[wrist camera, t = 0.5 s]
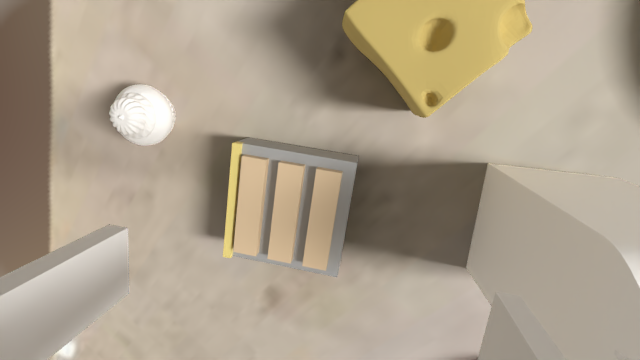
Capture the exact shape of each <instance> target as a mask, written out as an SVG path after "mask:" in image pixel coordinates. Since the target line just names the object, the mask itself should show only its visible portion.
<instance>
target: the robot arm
mask: <svg viewBox="0 0 640 360" xmlns="http://www.w3.org/2000/svg"><path fill="white" fill-rule="evenodd" d="M128 294H129V251H128V228H127V227H121V226H116V225H110V224H109V225H107V226H105V227H103V228H101V229H99V230H96V231H94V232H92V233H90V234H88V235H86V236H84V237H82V238H80V239H78V240H76V241H74V242H72V243H70V244H68V245H66V246H64V247H62V248H59V249H57V250H55V251H53V252H51V253H49V254H47V255H45V256H43V257H41V258H39V259H37V260H35V261H33V262H31V263H29V264H27V265H25V266H22V267H20V268H18V269H16V270H14V271H12V272H10V273H8V274H6V275H4V276H2V277H0V360H47V359H49V358H50V357H51V356H52V355H54V354H55V353H56V352H57V351H59V350H60V349H61V348H62V347H64V346H65V345H66V344H67V343H69V342H70V341H71V340H72V339H73V338H75V337H76V336H77V335H78V334H80V333H81V332H82V331H83V330H85V329H86V328H87V327H88V326H90V325H91V324H92V323H93V322H95V321H96V320H97V319H98V318H99V317H101V316H102V315H103V314H104V313H106V312H107V311H108V310H109V309H111V308H112V307H113V306H114V305H116V304H117V303H118V302H119V301H121V300H122V299H123V298H124V297H125V296H127V295H128ZM478 360H566V358H565V357H564V356H563V354H562V353H561V351H560V350H559V349H558V347H557V346H556V345H555V343H554V342H553V340H552V339H551V338H550V336H549V335H548V334H547V332H546V331H545V329H544V328H543V327H542V325H541V324H540V323H539V321H538V320H537V319H536V317H535V316H534V314H533V313H532V312H531V310H530V309H529V308H528V306H527V305H526V303H525V302H524V301H523V299H522V298H521V297H520V296H518V295H512V294H506V293H501V292H495V296H494V299H493V303H492V307H491V311H490V315H489V318H488V322H487V326H486V330H485V333H484V337H483V341H482V345H481V349H480V352H479V356H478Z"/></svg>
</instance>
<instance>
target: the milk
mask: <svg viewBox="0 0 640 360" xmlns="http://www.w3.org/2000/svg"><path fill="white" fill-rule="evenodd" d="M466 269H467V270H468V272H469V273H470V275H471V276H472V278H473V279H474V281H475V282H476V284H477V285H478V287H479V288H480V290H481V291H482V293H483V294H484V296H485V297H486V299H487V300H488V302H489V303H490V305H491V306H492V303H493V299H494V296H495V292H501V293H506V294H512V295H518V296H520V297H521V298H522V299H523V301H524V302H525V303H526V305H527V306H528V308H529V309H530V310H531V312H532V313H533V314H534V316H535V317H536V319H537V320H538V321H539V323H540V324H541V325H542V327H543V328H544V329H545V331H546V332H547V334H548V335H549V336H550V338H551V339H552V340H553V342H554V343H555V345H556V346H557V347H558V349H559V350H560V351H561V353H562V354H563V356H564V357H565V358H566V360H640V186H638V185H636V184H633V183H631V182H628V181H626V180H623V179H621V178H616V177H607V176H598V175H589V174H580V173H572V172H563V171H554V170H545V169H536V168H527V167H518V166H509V165H500V164H491V163H488V165H487V170H486V175H485V180H484V184H483V189H482V194H481V199H480V203H479V208H478V213H477V218H476V222H475V227H474V232H473V237H472V241H471V246H470V251H469V256H468V260H467V265H466Z"/></svg>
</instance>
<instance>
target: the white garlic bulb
mask: <svg viewBox="0 0 640 360" xmlns="http://www.w3.org/2000/svg"><path fill="white" fill-rule="evenodd" d="M110 109H111V110H110V111H109V115H110V116H111V117H110V121H112V122H113V127H116V128H117V131H118V132H120V133H121V135H122V136H123V137H124V138H126V139H127V140H128V141H130V142H132V143H134V144H136V145H140V146H149V145H154V144H157V143H159V142H161V141H162V140H164V139H165V138H166V137H167V136H168V134H169V133H170V132H171V130H172V128H173V126H174V123H175V120H176V112H175V109H174V106H173V105H172V103H171V102H170V100H169V99H168V98H167V97H166V96H165V95H164V94H162V93H161V92H160V91H158V90H157V89H155V88H154V87H152V86H149V85H144V84H136V85H131V86H128V87H126V88H125V89H123V90H122V91H121V92H120V93H119V94H118V95H117V97H116V99H115V101H114V103H113V104H112V105H111V107H110Z"/></svg>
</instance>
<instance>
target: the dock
mask: <svg viewBox="0 0 640 360" xmlns="http://www.w3.org/2000/svg"><path fill="white" fill-rule="evenodd" d="M358 158H359V156H356V155H350V154H344V153H338V152H332V151H327V150H321V149H315V148H309V147H303V146H297V145H291V144H285V143H279V142H273V141H267V140H261V139H255V138H249V137H248V138H245V139H242V140H239V141H236V142H233V143H232V152H231V164H230V176H229V188H228V200H227V213H226V225H225V237H224V249H223V257H227V258H231V257H232V256H236V257H241V258H246V259H251V260H256V261H261V262H265V263H270V264H275V265H280V266H285V267H290V268H294V269H299V270H304V271H309V272H314V273H319V274H323V275H328V276H333V277H337V276H338V271H339V266H340V261H341V256H342V250H343V244H344V239H345V233H346V227H347V222H348V216H349V210H350V204H351V199H352V193H353V187H354V181H355V176H356V170H357V164H358Z"/></svg>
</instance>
